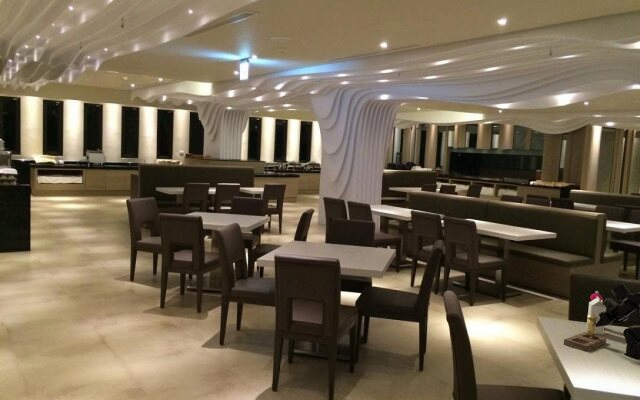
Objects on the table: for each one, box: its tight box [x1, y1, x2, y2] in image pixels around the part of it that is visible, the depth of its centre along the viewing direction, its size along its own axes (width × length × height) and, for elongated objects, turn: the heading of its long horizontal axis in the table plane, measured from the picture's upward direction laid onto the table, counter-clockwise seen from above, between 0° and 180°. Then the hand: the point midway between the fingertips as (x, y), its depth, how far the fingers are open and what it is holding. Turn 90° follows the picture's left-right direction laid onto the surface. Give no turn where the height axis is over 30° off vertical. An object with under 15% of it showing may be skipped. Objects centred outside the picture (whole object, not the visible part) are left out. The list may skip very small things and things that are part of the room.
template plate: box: [563, 331, 607, 352], centre depth 270 cm, size 22×11×2 cm, turn 129°
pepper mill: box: [586, 290, 603, 319], centre depth 301 cm, size 7×7×20 cm
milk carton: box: [586, 296, 607, 335], centre depth 290 cm, size 7×7×19 cm
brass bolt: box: [586, 313, 598, 340], centre depth 273 cm, size 5×5×14 cm
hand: (600, 324), depth 269 cm, fingers open, 9 cm apart
